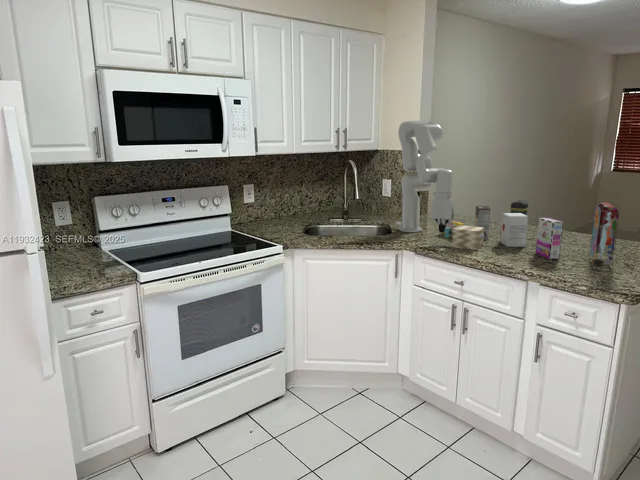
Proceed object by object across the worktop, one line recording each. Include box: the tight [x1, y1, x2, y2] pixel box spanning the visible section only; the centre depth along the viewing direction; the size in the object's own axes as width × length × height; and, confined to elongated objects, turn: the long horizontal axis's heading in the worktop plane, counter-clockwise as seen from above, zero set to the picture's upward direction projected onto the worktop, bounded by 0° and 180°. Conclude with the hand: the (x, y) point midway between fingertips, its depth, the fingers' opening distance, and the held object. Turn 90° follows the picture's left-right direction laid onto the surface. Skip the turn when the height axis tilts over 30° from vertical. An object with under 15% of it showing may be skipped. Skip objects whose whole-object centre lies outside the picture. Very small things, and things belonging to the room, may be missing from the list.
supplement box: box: [500, 212, 529, 248], centre depth 218 cm, size 9×9×15 cm
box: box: [589, 201, 620, 270], centre depth 188 cm, size 25×6×24 cm, turn 156°
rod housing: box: [451, 225, 484, 251], centre depth 217 cm, size 12×10×9 cm
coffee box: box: [474, 205, 491, 241], centre depth 234 cm, size 9×6×16 cm
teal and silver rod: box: [443, 227, 484, 239], centre depth 218 cm, size 18×4×4 cm, turn 57°
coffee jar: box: [509, 199, 529, 216], centre depth 237 cm, size 10×8×19 cm
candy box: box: [442, 220, 465, 237], centre depth 240 cm, size 16×2×8 cm, turn 19°
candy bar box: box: [535, 217, 564, 260], centre depth 197 cm, size 11×5×16 cm, turn 5°
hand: (441, 232), depth 224 cm, fingers closed
